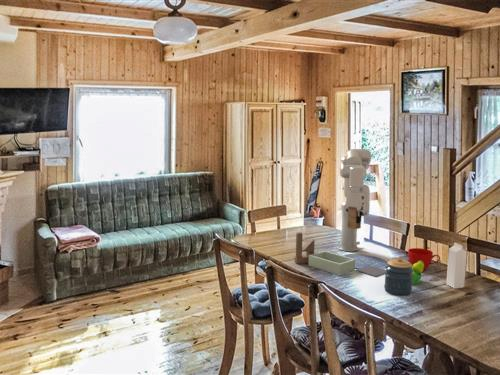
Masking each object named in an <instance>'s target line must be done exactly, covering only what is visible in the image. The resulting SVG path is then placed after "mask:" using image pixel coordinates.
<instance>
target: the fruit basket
mask: <svg viewBox="0 0 500 375" xmlns="http://www.w3.org/2000/svg"><path fill="white" fill-rule="evenodd" d="M411 267H412V268H413V272H412V275H413V278H412V285H419V283H420V281H421V278H422V276H423V275H422V273H423V271H424V270H423V267H424V264H423V262H422V261H418V263H415V264H413V266H411Z"/></svg>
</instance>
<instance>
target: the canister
mask: <svg viewBox="0 0 500 375" xmlns="http://www.w3.org/2000/svg"><path fill="white" fill-rule="evenodd" d="M385 270H386V272H385V274H384V275H385V276H384V286H383V288H384V291H385V292H386V293H387V294H390V295H393V296H398V297H406V296H410V295H411V294H412V293H413V292H412V291H413V284H412V278H413V275H412V272H413V267H412V264H411V263H410V262H409V260H407V259H403V256H400V255H399V256H397V258H392V259H390V260H388V261H387V264H386V265H385Z"/></svg>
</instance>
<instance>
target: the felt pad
mask: <svg viewBox="0 0 500 375" xmlns="http://www.w3.org/2000/svg"><path fill="white" fill-rule="evenodd" d="M355 272H358V273H361V274H365V275H368V276H372V277H375V278H377V277H380V276H382V275H385V272H386V269H384V268H380V267H376V266H374V265H370V264H369V265H365V266H363V267H361V268H357V269H355Z"/></svg>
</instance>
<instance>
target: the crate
mask: <svg viewBox="0 0 500 375" xmlns="http://www.w3.org/2000/svg"><path fill="white" fill-rule="evenodd" d="M307 264H308V266H309V267H313V268H315V269H316V268H317V269H318V270H322V271H324V272H325V271H326V272H328V273H331V274H334V275H338V276H340V275H341V276H342V275H344V274H347V273H349V272H352V271H356V259H355V258H352V257H349V256H345V255H342V254H341V255H340V254H336V253H333V252H330V251H327V250H322V251H319V252H314V254H311V255H309V262H308V263H307Z"/></svg>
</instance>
